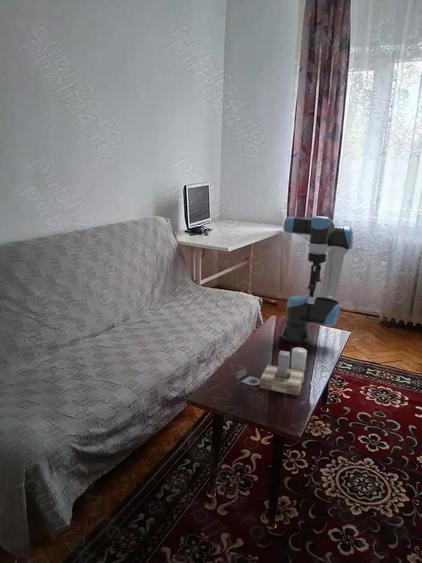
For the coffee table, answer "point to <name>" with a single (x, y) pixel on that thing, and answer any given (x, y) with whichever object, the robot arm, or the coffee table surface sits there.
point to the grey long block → (283, 365)
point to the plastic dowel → (298, 359)
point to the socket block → (282, 380)
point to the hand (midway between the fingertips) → (312, 299)
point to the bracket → (248, 378)
